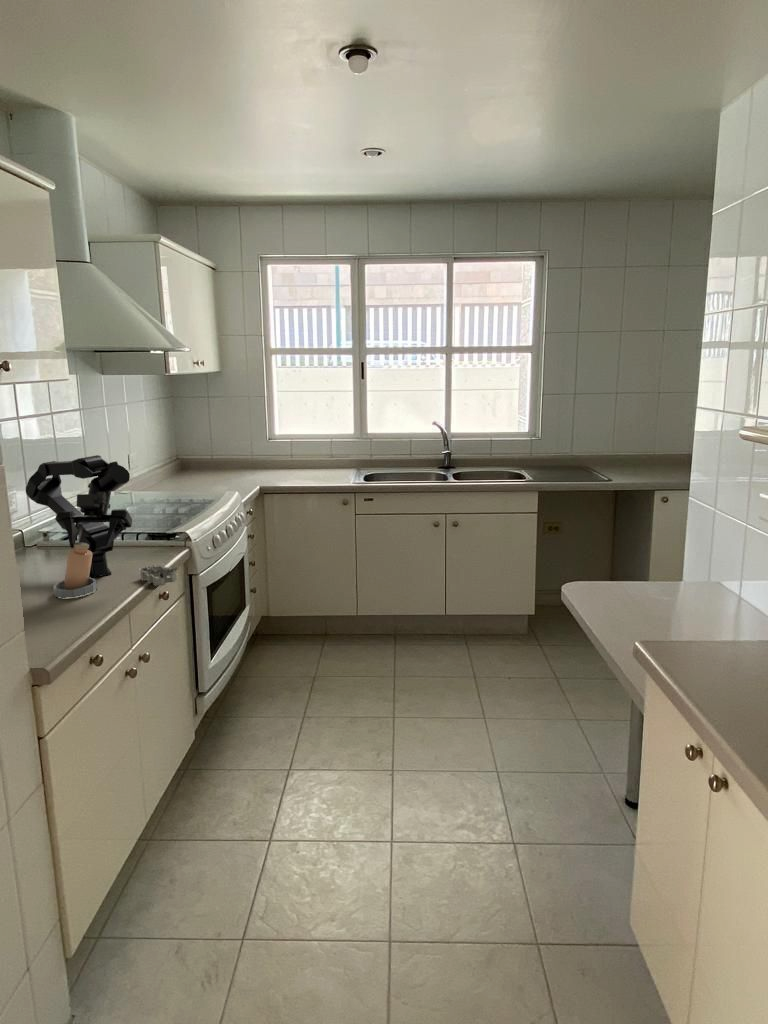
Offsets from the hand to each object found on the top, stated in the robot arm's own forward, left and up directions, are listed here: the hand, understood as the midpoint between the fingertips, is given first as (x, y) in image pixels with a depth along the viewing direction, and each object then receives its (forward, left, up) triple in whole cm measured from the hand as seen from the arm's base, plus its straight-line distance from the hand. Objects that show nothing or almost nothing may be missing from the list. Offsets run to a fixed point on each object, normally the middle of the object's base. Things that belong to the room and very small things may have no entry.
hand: (89, 546), depth 179 cm
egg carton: (-1, +17, -14) cm, 22 cm away
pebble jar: (-4, -4, -12) cm, 13 cm away
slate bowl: (-4, -4, -13) cm, 14 cm away
